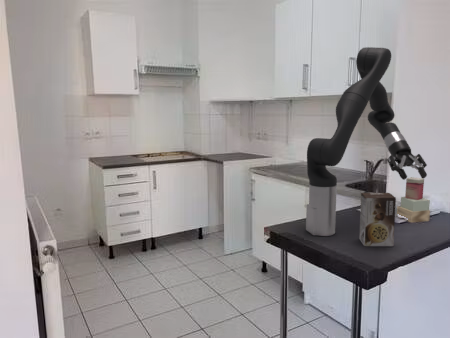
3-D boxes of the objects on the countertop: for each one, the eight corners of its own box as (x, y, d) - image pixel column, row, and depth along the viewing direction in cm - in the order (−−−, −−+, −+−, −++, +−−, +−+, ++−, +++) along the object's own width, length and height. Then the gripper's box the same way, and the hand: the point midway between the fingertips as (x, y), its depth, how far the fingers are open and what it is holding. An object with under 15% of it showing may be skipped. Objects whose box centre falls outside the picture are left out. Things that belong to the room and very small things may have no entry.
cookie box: (386, 239, 118) (389, 192, 115) (393, 247, 112) (397, 197, 109) (358, 239, 119) (360, 192, 116) (364, 246, 113) (366, 197, 110)
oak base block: (411, 223, 135) (411, 212, 134) (396, 217, 142) (397, 206, 142) (429, 221, 136) (429, 210, 136) (413, 215, 144) (414, 204, 143)
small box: (404, 198, 139) (405, 178, 137) (409, 196, 141) (410, 176, 140) (418, 200, 135) (419, 180, 133) (423, 198, 137) (424, 178, 136)
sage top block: (412, 211, 134) (413, 201, 134) (400, 206, 141) (401, 197, 140) (429, 210, 136) (429, 200, 135) (416, 205, 142) (416, 195, 142)
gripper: (386, 140, 142) (404, 173, 132) (417, 138, 144) (436, 171, 135) (377, 151, 148) (393, 184, 138) (407, 150, 150) (425, 182, 141)
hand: (415, 177), depth 137 cm, fingers open, 8 cm apart
